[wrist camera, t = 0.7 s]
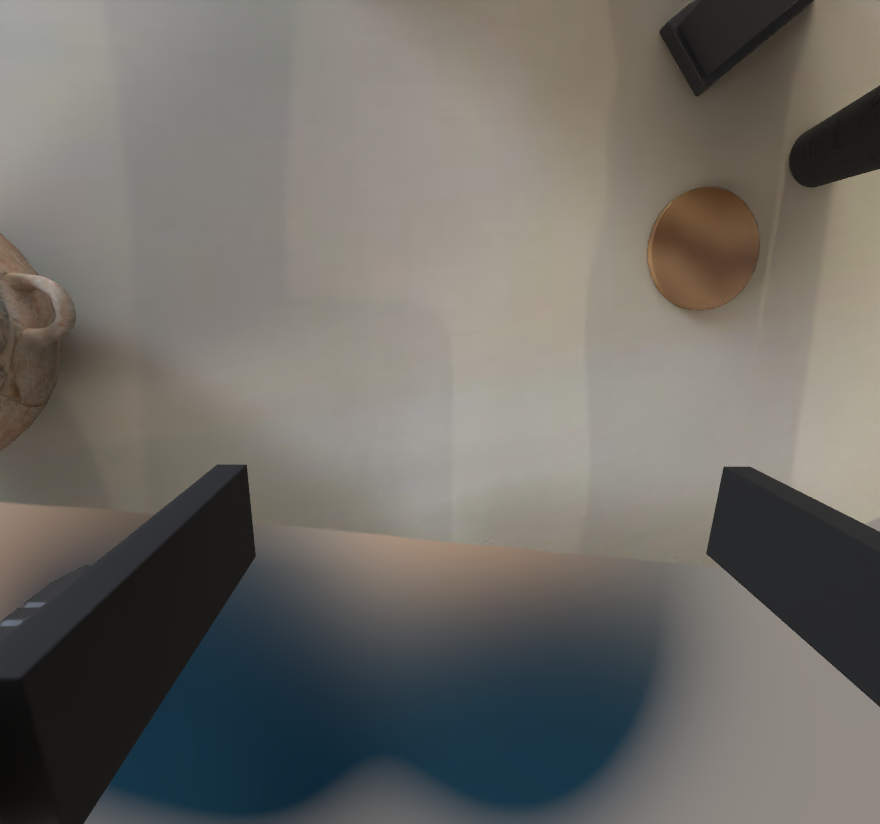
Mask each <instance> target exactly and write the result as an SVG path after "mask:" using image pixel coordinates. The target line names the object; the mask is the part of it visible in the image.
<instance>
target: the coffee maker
mask: <svg viewBox="0 0 880 824" xmlns="http://www.w3.org/2000/svg"><path fill="white" fill-rule="evenodd" d="M812 1H814V0H694V1H692V2H691V3H690V4H689V5H687V6H686V7H685V8H684V9H683V10H681V11H680V12H679V13H678V14H677V15H675V16H674V17H673V18H672V19H671V20H669V21H668V22H667V23H666V25H665V26H664V27H663V28H662V29H661V30H660V34H661V35H662V37H663V39H664V41H665V42H666V44H667V46H668V48H669V49H670V51H671V53H672V55H673V56H674V58H675V60H676V62H677V63H678V65H679V67H680V69H681V70H682V72H683V74H684V76H685V77H686V79H687V81H688V83H689V84H690V86H691V88H692V90H693V91H694V93H695V95H696V96H698V95H700V94H701V93H702V92H703V91H705V90H706V89H707V88H708V87H709V86H711V85H712V84H713V83H714V82H716V81H717V80H718V79H719V78H720V77H722V76H723V75H724V74H725V73H726V72H728V71H729V70H730V69H731V68H732V67H734V66H735V65H736V64H737V63H739V62H740V61H741V60H742V59H743V58H745V57H746V56H747V55H748V54H749V53H751V52H752V51H753V50H754V49H756V48H757V47H758V46H759V45H760V44H762V43H763V42H764V41H765V40H766V39H768V38H769V37H770V36H771V35H772V34H774V33H775V32H776V31H777V30H779V29H780V28H781V27H782V26H783V25H785V24H786V23H787V22H788V21H789V20H791V19H792V18H793V17H794V16H796V15H797V14H798V13H799V12H800V11H802V10H803V9H804V8H805V7H806V6H808V5H809V4H810V3H811V2H812Z"/></svg>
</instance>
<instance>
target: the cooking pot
mask: <svg viewBox="0 0 880 824" xmlns="http://www.w3.org/2000/svg"><path fill="white" fill-rule="evenodd" d="M52 302H53V303H52ZM53 305H54V306H53ZM75 320H76V315H75V309H74V305H73V302H72V300H71V298H70V296H69V294H68V293H67V292H66V291H65V290H64V289H63V288H62V287H61V286H60V285H58V284H57V283H56V282H54V281H52V280H50V279H48V278H45V277H42V276H38V274H37V273H36V271H35V270H34V269H33V268H32V266H31V265H30V264H29V262H28V261H27V260H26V259H25V257H24V256H23V255H22V253H21V252H20V251H19V250H18V249H17V248H16V247H15V246H14V245H13V244H12V243H10V242H9V241H8V240H7V239H6V238H5V237H4V236H3V235H2V234H1V233H0V450H1V449H3V448H5V447H6V446H8V445H9V444H10V443H11V442H12V441H14V440H15V439H16V438H17V437H18V436H19V435H20V434H21V433H22V432H24V431H25V430H26V429H27V428H28V427H29V426H30V425H31V424H32V423H33V421H34V420H35V419H36V417H37V416H38V415H39V413H40V412H41V411H42V409H43V408H44V407H45V405H46V404H47V402H48V400H49V397H50V395H51V393H52V391H53V389H54V387H55V384H56V381H57V377H58V373H59V369H60V364H61V344H62V341H61V338H63V337H64V336H66V335H67V334H68V333H69V332H70V331H71V330H72V328H73V327H74V324H75Z"/></svg>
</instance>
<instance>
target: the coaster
mask: <svg viewBox="0 0 880 824" xmlns="http://www.w3.org/2000/svg"><path fill="white" fill-rule="evenodd" d="M759 246H760V242H759V232H758V227H757V224H756V221H755V218H754V216H753V214H752V212H751V211H750V209H749V208H748V206H747V205H746V204H745V203H744V202H743V201H742V200H741V199H740V198H739V197H738V196H736V195H735V194H733V193H731V192H729V191H727V190H724V189H721V188H716V187H702V188H697V189H694V190H691V191H688V192H686V193H684V194H682V195H680V196H679V197H677V198H676V199H674V200H673V201H672V202H671V203H669V204H668V205H667V206H666V208H665V209H664V210H663V211H662V212H661V214H660V215H659V217H658V218H657V220H656V222H655V224H654V226H653V228H652V231H651V234H650V238H649V243H648V265H649V270H650V273H651V276H652V279H653V281H654V283H655V285H656V287H657V288H658V289H659V291H660V292H661V293H662V294H663V295H664V297H666V298H667V299H668V300H669V301H670V302H672V303H674V304H675V305H677V306H680V307H682V308H686V309H690V310H706V309H711V308H715V307H718V306H721V305H723V304H725V303H727V302H728V301H730V300H731V299H733V298H734V297H735V296H736V295H738V294H739V293H740V292H741V291H742V289H743V288H744V287H745V286H746V284H747V283H748V282H749V280H750V278H751V276H752V274H753V272H754V270H755V267H756V264H757V261H758V255H759Z"/></svg>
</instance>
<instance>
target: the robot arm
mask: <svg viewBox="0 0 880 824" xmlns="http://www.w3.org/2000/svg"><path fill="white" fill-rule="evenodd" d="M706 554H707V555H709V556H710V557H711V558H712V559H713V560H714V561H715V562H716V563H718V564H719V565H720V566H721V567H722V568H723V569H724V570H726V571H727V572H728V573H729V574H730V575H731V576H732V577H734V578H735V579H736V580H737V581H738V582H739V583H740V584H741V585H742V586H744V587H745V588H746V589H747V590H748V591H749V592H750V593H752V594H753V595H754V596H755V597H756V598H757V599H758V600H760V601H761V602H762V603H763V604H764V605H765V606H766V607H768V608H769V609H770V610H771V611H772V612H773V613H774V614H775V615H776V616H778V617H779V618H780V619H781V620H782V621H783V622H784V623H786V624H787V625H788V626H789V627H790V628H791V629H792V630H793V631H795V632H796V633H797V634H798V635H799V636H800V637H801V638H802V639H804V640H805V641H806V642H807V643H808V644H809V645H810V646H812V647H813V648H814V649H815V650H816V651H817V652H818V653H820V654H821V655H822V656H823V657H824V658H825V659H826V660H827V661H829V662H830V663H831V664H832V665H833V666H834V667H835V668H836V669H838V670H839V671H840V672H841V673H842V674H843V675H844V676H846V677H847V678H848V679H849V680H850V681H851V682H852V683H854V684H855V685H856V686H857V687H858V688H859V689H860V690H861V691H862V692H864V693H865V694H866V695H867V696H868V697H869V698H870V699H872V700H873V701H874V702H875V703H876V704H877V705H878V706H879V707H880V532H879V531H877V530H875V529H873V528H871V527H869V526H867V525H865V524H863V523H861V522H859V521H857V520H855V519H853V518H851V517H849V516H847V515H845V514H843V513H841V512H839V511H837V510H835V509H833V508H831V507H829V506H827V505H825V504H823V503H821V502H819V501H817V500H815V499H813V498H811V497H809V496H807V495H805V494H803V493H801V492H799V491H797V490H795V489H793V488H791V487H789V486H787V485H785V484H783V483H781V482H779V481H777V480H775V479H773V478H771V477H769V476H767V475H765V474H763V473H761V472H759V471H757V470H755V469H753V468H751V467H724V468H723V473H722V478H721V483H720V488H719V493H718V498H717V503H716V508H715V513H714V518H713V523H712V528H711V533H710V538H709V543H708V548H707V553H706ZM254 558H255V545H254V535H253V525H252V514H251V504H250V494H249V483H248V473H247V465H216V466H215V467H214V468H212V469H211V470H210V471H209V472H207V473H206V474H205V475H204V476H202V477H201V478H200V479H199V480H198V481H196V482H195V483H194V484H193V485H191V486H190V487H189V488H188V489H186V490H185V491H184V492H183V493H181V494H180V495H179V496H178V497H176V498H175V499H174V500H173V501H172V502H170V503H169V504H168V505H167V506H165V507H164V508H163V509H162V510H160V511H159V512H158V513H157V514H155V515H154V516H153V517H152V518H150V519H149V520H148V521H147V522H146V523H144V524H143V525H142V526H141V527H139V528H138V529H137V530H136V531H134V532H133V533H132V534H131V535H129V536H128V537H127V538H126V539H125V540H123V541H122V542H121V543H119V544H118V545H117V546H116V547H115V548H113V549H112V550H111V551H110V552H108V553H107V554H106V555H105V556H104V557H102V558H101V559H100V560H98V561H97V562H96V563H95V564H93V565H92V566H91V565H85V566H83V567H81V568H79V569H77V570H75V571H73V572H71V573H69V574H67V575H65V576H63V577H62V578H60V579H58V580H56V581H54V582H52V583H50V584H49V585H48V586H46V587H45V588H44V589H42V590H41V591H40V592H39V593H37V594H36V595H35V596H33V597H32V598H31V599H29V600H28V601H27V602H26V603H24V606H23V608H18V609H17V610H15V611H14V612H13V613H11V614H10V615H8V616H7V617H6V618H5V619H3V620H2V621H1V622H0V824H84V822H85V820H86V819H87V817H88V816H89V814H90V813H91V811H92V810H93V808H94V806H95V805H96V803H97V802H98V800H99V799H100V797H101V796H102V794H103V793H104V791H105V789H106V788H107V786H108V785H109V783H110V782H111V780H112V779H113V777H114V776H115V774H116V772H117V771H118V769H119V768H120V766H121V765H122V763H123V761H124V760H125V758H126V757H127V755H128V754H129V752H130V751H131V749H132V748H133V746H134V744H135V743H136V741H137V740H138V738H139V737H140V735H141V734H142V732H143V730H144V729H145V727H146V726H147V724H148V723H149V721H150V720H151V718H152V717H153V715H154V713H155V712H156V710H157V709H158V707H159V706H160V704H161V703H162V701H163V699H164V698H165V696H166V695H167V693H168V692H169V690H170V689H171V687H172V685H173V684H174V682H175V681H176V679H177V678H178V676H179V675H180V673H181V671H182V670H183V668H184V667H185V665H186V664H187V662H188V661H189V659H190V657H191V656H192V654H193V653H194V651H195V650H196V648H197V646H198V645H199V644H200V642H201V640H202V639H203V637H204V636H205V634H206V633H207V631H208V630H209V628H210V626H211V625H212V623H213V622H214V620H215V619H216V617H217V615H218V614H219V612H220V611H221V609H222V608H223V606H224V605H225V603H226V601H227V600H228V598H229V597H230V595H231V594H232V592H233V591H234V589H235V587H236V586H237V584H238V583H239V581H240V580H241V578H242V577H243V575H244V573H245V572H246V571H247V569H248V567H249V566H250V564H251V563H252V561H253V560H254Z"/></svg>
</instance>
